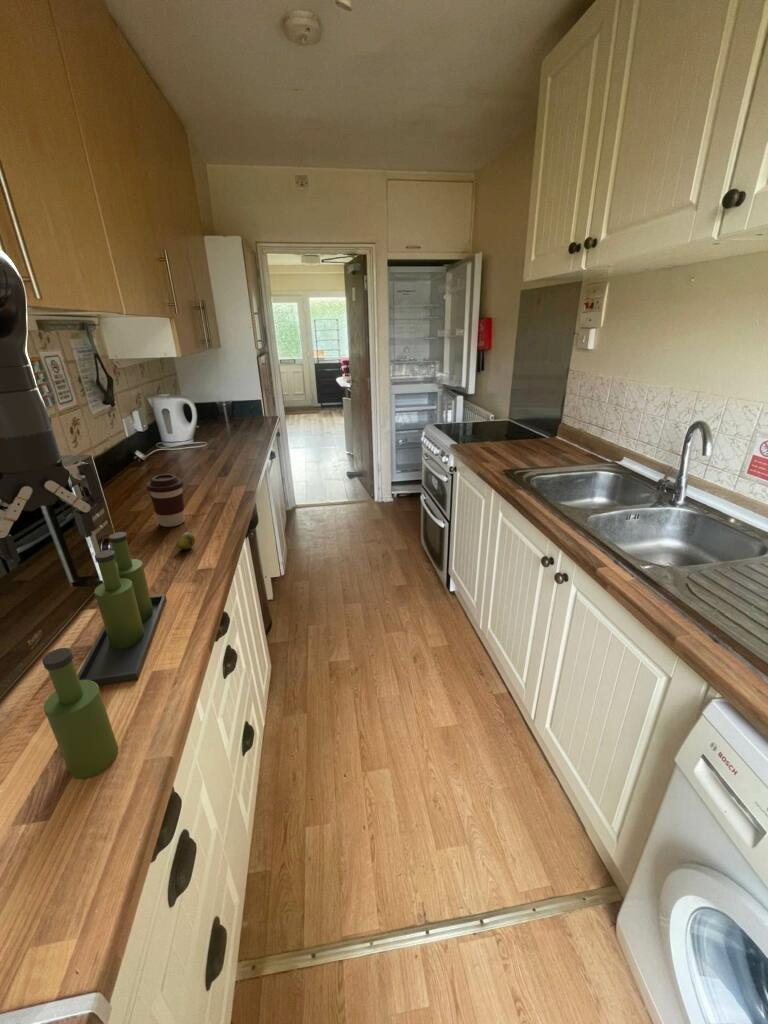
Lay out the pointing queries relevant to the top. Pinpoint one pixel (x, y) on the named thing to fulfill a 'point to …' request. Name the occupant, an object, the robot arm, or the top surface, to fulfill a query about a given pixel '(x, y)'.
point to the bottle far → (132, 573)
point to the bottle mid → (117, 604)
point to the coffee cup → (167, 499)
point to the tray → (121, 653)
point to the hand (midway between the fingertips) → (52, 547)
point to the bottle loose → (78, 718)
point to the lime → (186, 541)
